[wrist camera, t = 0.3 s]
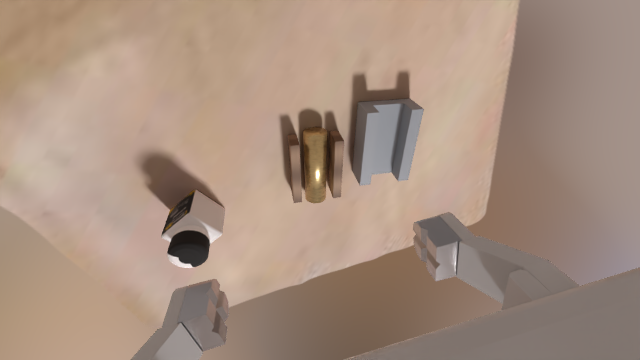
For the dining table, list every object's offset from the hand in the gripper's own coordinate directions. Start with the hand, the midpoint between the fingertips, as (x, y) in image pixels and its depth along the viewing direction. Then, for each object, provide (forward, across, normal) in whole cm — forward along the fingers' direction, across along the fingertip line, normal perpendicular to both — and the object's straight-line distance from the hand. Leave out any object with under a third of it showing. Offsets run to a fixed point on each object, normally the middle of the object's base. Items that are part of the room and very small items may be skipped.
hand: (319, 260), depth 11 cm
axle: (+38, -3, +16) cm, 41 cm away
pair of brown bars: (+39, -3, +15) cm, 42 cm away
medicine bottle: (+40, +20, +19) cm, 49 cm away
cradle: (+39, -16, +14) cm, 45 cm away
